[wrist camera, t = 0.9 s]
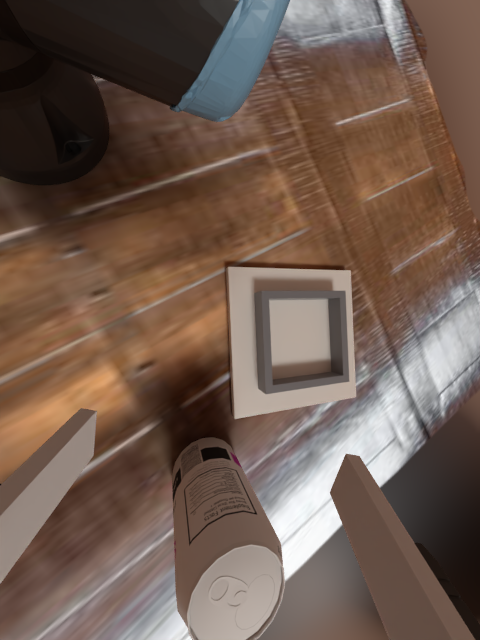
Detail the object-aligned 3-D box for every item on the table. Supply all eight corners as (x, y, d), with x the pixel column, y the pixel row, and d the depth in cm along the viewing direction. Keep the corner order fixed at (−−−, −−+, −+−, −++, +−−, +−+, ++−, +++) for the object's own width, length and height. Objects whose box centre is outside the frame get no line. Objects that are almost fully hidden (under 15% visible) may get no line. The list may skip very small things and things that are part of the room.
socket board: (225, 268, 31) (233, 261, 27) (345, 272, 37) (363, 266, 34) (232, 415, 31) (240, 427, 27) (350, 394, 37) (369, 402, 34)
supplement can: (245, 450, 32) (310, 556, 17) (212, 508, 30) (253, 676, 16) (196, 423, 30) (224, 517, 15) (158, 484, 28) (149, 652, 14)
